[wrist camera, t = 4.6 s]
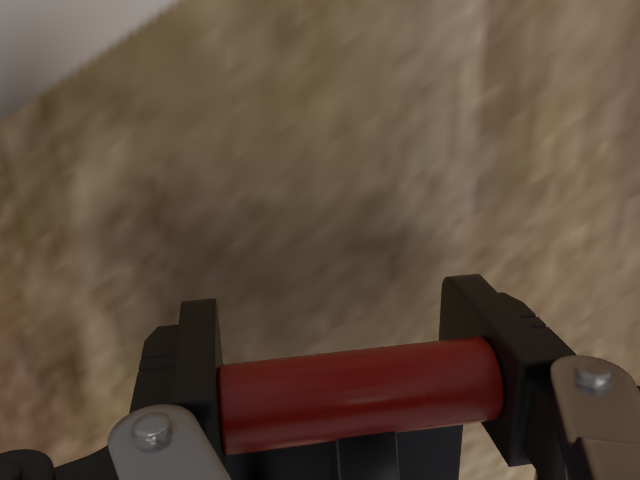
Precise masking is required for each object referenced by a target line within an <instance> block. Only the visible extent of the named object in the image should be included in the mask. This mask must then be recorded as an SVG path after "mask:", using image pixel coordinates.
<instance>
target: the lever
mask: <svg viewBox="0 0 640 480" xmlns="http://www.w3.org/2000/svg"><path fill="white" fill-rule="evenodd" d="M217 389H218V407H219V421H220V432H221V441H222V448H223V452H224V454H225V455H228V456H230V455H238V454H245V453H253V452H260V451H268V450H275V449H283V448H290V447H298V446H305V445H313V444H320V443H328V442H329V448H330V461H331V473H332V480H400V476H399V463H398V449H397V436H396V433H403V432H410V431H418V430H425V429H433V428H440V427H448V426H456V425H463V424H471V423H478V422H486V421H492V420H495V419H496V418H498V417H499V415H500V414H501V412H502V408H503V403H504V386H503V378H502V373H501V369H500V365H499V362H498V359H497V357H496V354H495V352H494V350H493V348H492V347H491V345H490V344H489V343H488V342H487V341H486V340H485V339H484V338H481V337H468V338H459V339H450V340H441V341H432V342H423V343H414V344H405V345H396V346H387V347H378V348H369V349H360V350H351V351H342V352H333V353H324V354H315V355H306V356H297V357H288V358H279V359H270V360H261V361H252V362H243V363H234V364H225V365H221V366H219V367H218V371H217Z"/></svg>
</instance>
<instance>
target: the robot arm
mask: <svg viewBox="0 0 640 480" xmlns="http://www.w3.org/2000/svg"><path fill="white" fill-rule="evenodd" d="M468 337H481V338H484V339H485V340H486V341H487V342H488V343H489V344H490V345H491V347H492V348H493V350H494V352H495V354H496V357H497V359H498V362H499V365H500V369H501V373H502V378H503V386H504V403H503V408H502V412H501V414H500V415H499V417H498V418H496V419H495V420H492V421H486V422H481V423H482V425H483V426H484V428H485V429H486V431H487V432H488V434H489V436H490V437H491V439H492V440H493V442H494V444H495V445H496V447H497V448H498V450H499V452H500V453H501V455H502V456H503V458H504V459H505V461H506V463H507V464H508V466H509V467H512V466H519V465H526V464H532V465H533V466H534V468H535V469H536V471H535V478H534V480H640V386H636V384H635V382H634V380H633V378H632V377H631V376H630V375H629V374H628V373H627V372H626V371H625V370H624V369H622V368H620V367H619V366H617V365H615V364H613V363H611V362H609V361H606V360H603V359H600V358H596V357H591V356H582V355H576V354H575V353H574V352H573V351H572V350H571V349H570V348H569V347H568V346H567V345H566V344H565V343H564V342H563V341H562V340H561V339H560V338H559V337H558V336H557V335H556V334H555V333H554V332H553V331H552V330H551V329H550V328H549V327H546V324H545V323H544V322H543V321H542V320H541V319H540V318H539V317H536V316H535V314H534V313H533V312H532V311H531V310H530V309H529V308H528V307H527V306H526V305H525V304H524V303H523V302H521V301H519V300H517V299H515V298H513V297H511V296H509V295H507V294H505V293H497V292H496V291H495V290H494V289H493V288H492V287H491V286H490V285H489V284H488V282H487V281H486V280H485V279H484V278H483V277H482V276H481V275H479V274H471V275H460V276H450V277H445V279H444V281H443V284H442V293H441V309H440V326H439V341H441V340H450V339H459V338H468ZM221 365H223V360H222V350H221V340H220V330H219V320H218V310H217V302H216V298H213V299H203V300H193V301H182V303H181V310H180V318H179V325H170V326H160V327H157V328H156V329H155V330H154V331H153V332H152V333H151V335H150V336H149V337H148V338H147V339H146V340H145V342H144V347H143V351H142V359H141V361H140V365H139V372H138V375H137V379H136V384H135V389H134V393H133V398H132V403H131V407H130V412H129V414H128V415H127V416H125V417H124V418H122V419H121V420H120V421H119V422H118V423H117V424H116V425H115V426H114V427H113V429H112V430H111V432H110V434H109V437H108V445H107V446H105V447H104V448H102V449H101V450H99V451H97V452H95V453H93V454H91V455H89V456H86V457H84V458H81V459H78V460H75V461H72V462H69V463H67V464H64V465H61V466H58V467H55V468H54V467H53V463H52V461H51V459H50V458H49V457H48V456H47V455H46V454H44V453H42V452H40V451H36V450H29V449H22V450H13V451H8V452H4V453H1V454H0V480H231V478H230V476H229V474H228V473H227V471H226V455H225V454H224V452H223V448H222V441H221V432H220V421H219V407H218V389H217V371H218V367H219V366H221Z"/></svg>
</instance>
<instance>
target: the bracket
mask: <svg viewBox="0 0 640 480" xmlns="http://www.w3.org/2000/svg"><path fill="white" fill-rule="evenodd" d="M462 430H463V425H456V426H448V427H440V428H433V429H425V430H418V431H410V432H403V433H396V436H397V449H398V463H399V476H400V480H458V479H459V467H460V454H461V442H462ZM226 471H227V473H228V474H229V476H230V478H231V480H332V473H331V461H330V448H329V442H328V443H320V444H313V445H305V446H298V447H290V448H283V449H275V450H268V451H260V452H253V453H245V454H238V455H230V456H228V455H226Z"/></svg>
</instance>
